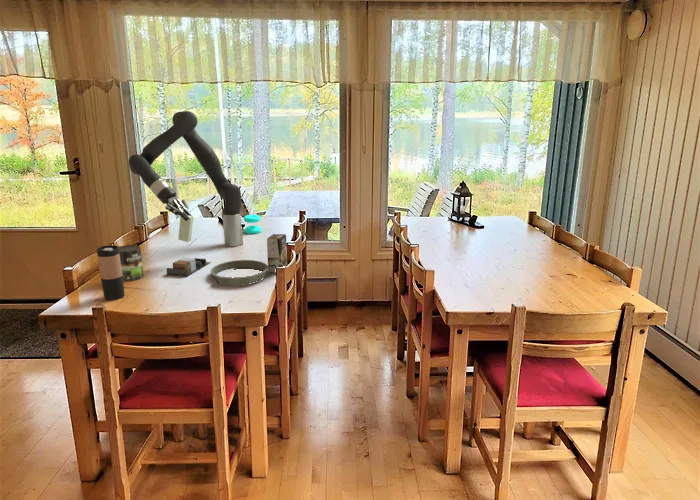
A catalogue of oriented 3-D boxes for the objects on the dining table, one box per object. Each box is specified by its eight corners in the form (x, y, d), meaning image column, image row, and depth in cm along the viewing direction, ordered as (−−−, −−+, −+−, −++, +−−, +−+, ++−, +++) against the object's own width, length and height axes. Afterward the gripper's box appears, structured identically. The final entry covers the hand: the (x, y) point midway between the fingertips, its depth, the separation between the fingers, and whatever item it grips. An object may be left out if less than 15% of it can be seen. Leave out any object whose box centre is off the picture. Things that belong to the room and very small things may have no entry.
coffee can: (149, 278, 208) (145, 247, 204) (127, 285, 200) (123, 253, 196) (134, 274, 213) (130, 243, 209) (113, 280, 205) (108, 249, 201)
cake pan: (208, 272, 217) (208, 262, 215) (262, 266, 225) (262, 257, 224) (214, 290, 195) (213, 280, 193) (273, 283, 203) (273, 273, 202)
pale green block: (181, 238, 223) (183, 213, 220) (190, 240, 223) (193, 216, 219) (178, 239, 221) (180, 214, 217) (187, 242, 220) (190, 217, 216)
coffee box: (281, 273, 214) (279, 239, 210) (267, 272, 216) (266, 238, 211) (287, 267, 223) (286, 234, 218) (274, 266, 224) (273, 233, 220)
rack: (192, 262, 229) (192, 254, 228) (211, 264, 227) (211, 256, 226) (167, 277, 209) (166, 268, 208) (187, 278, 207) (186, 270, 206)
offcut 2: (184, 267, 219) (183, 257, 217) (196, 268, 217) (195, 258, 216) (179, 270, 215) (178, 260, 213) (191, 271, 213) (190, 261, 212)
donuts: (245, 214, 289) (261, 214, 288) (246, 230, 291) (262, 230, 291) (241, 217, 279) (258, 217, 279) (242, 234, 282) (259, 234, 282)
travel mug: (108, 293, 191) (101, 245, 185) (128, 293, 191) (121, 245, 186) (100, 300, 183) (92, 251, 178) (121, 300, 184) (114, 250, 178)
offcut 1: (178, 271, 214) (177, 260, 213) (190, 272, 213) (189, 261, 212) (173, 273, 211) (172, 263, 209) (185, 275, 209) (184, 264, 208)
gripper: (158, 187, 210) (186, 216, 210) (176, 183, 223) (202, 210, 223) (149, 199, 212) (176, 227, 213) (167, 194, 225) (192, 221, 226)
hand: (189, 218), depth 218 cm, fingers closed on pale green block, 2 cm apart
